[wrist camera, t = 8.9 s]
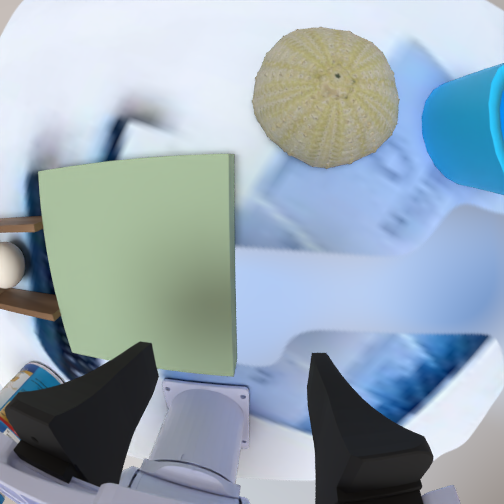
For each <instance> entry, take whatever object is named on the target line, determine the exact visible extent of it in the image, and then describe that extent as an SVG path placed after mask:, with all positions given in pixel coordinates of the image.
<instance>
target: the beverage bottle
mask: <svg viewBox="0 0 504 504" xmlns="http://www.w3.org/2000/svg"><path fill="white" fill-rule="evenodd" d="M60 384H63V382H62V381H61V379H60V378H59V377H58V376H57V375H56V374H54V373H53V372H52V371H51V370H49V369H48V368H46V367H45V366H43V365H41V364H38V363H28V364H26V365H25V366H24V367H23V368H22V369H21V370H20V372H19V373H18V374H17V375H16V376H15V377H14V378H13V379H12V380H11V381H10V382H9V383H8V384H7V385H6V386H5V387H4V388H3V389H2V390H1V391H0V432H2V433H3V434H5V435H7V436H8V437H10V438H12V439H13V440H14V441H15V442H16V443H17V444H18V443H19V442H20V440H21V439H20V438H19V436H18V435H17V433H16V432H15V430H14V429H13V427H12V426H11V424H10V423H9V421H8V419H7V417H6V414H5V407H6V406H7V405H8V404H9V402H10V401H11V400H12V399H13V398H14V397H15V396H16V395H17V393H18V392H26V391H34V390H40V389H45V388H49V387H53V386H57V385H60ZM4 498H5V495H4V494H3V493H1V492H0V504H2V503H3V501H4Z"/></svg>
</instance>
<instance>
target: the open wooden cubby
mask: <svg viewBox="0 0 504 504" xmlns="http://www.w3.org/2000/svg"><path fill="white" fill-rule="evenodd" d="M41 229H44V228H43V220H42V216H31V217H15V218H2V219H0V233H6V232H36V231H39V230H41ZM0 309H4V310H8V311H12V312H16V313H20V314H24V315H28V316H33V317H37V318H42V319H47V320H51V321H55V320H56V319H57V318H58V317H60V316H61V313H60V309H59V305H58V301H57V297H56V295H52V294H45V293H38V292H32V291H26V290H20V289H14V288H7V289H5V288H0Z"/></svg>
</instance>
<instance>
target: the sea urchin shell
mask: <svg viewBox="0 0 504 504" xmlns="http://www.w3.org/2000/svg"><path fill="white" fill-rule="evenodd" d="M255 80H256V82H255V87H254V95H253V100H252V103H253V108H254V114H255V116H256V118H257V120H258V122H259V123H260V124H261V127H262V128H263V129H264V131H265V133H266V135H267V137H269V138H270V140H271V141H273V142H275V143H276V144H277V145H278V146H279V147H280V148H282V149H283V151H284V152H287V153H288V155H289V156H293V157H295V158H297V159H299V160H301V161H303V162H305V163H306V164H308V165H310V166H312V167H320V168H326V169H327V168H330V167H335V166H339V165H345V164H352V162H354V161H356V160H358V159H360V158H362V157H364V156H367V155H369V154H371V153H374V152H376V150H377V149H378V148H379V147H380V146H381V145H382V144H383V143H384V142H385V141H386V140H387V139H388V138H389V137H390V136H391V135H392V133H393V131H394V129H395V127H396V125H397V120H398V105H399V100H400V99H398V92H397V89H396V85H395V78H394V72H393V71H392V70H391V67H390V65H389V64H388V62H387V59H386V57H385V56H384V54H383V52H382V51H380V50H379V49H378V48H377V47H376V46H375V45H374V44H373V42H370V41H368V40H366V39H364V38H361V37H359V36H357V35H355V34H353V33H352V32H350V31H343V30H335V29H329V28H323V27H319V28H308V29H297V30H296V31H293V32H291V33H289V34H288V35H285V36H283V38H281V39H280V40H279V41H278V42H277V43H276V44H275V46H274V47H273V48H272V49H271V50H270V51H269V52H267V53H266V56H265V57H264V61H263V64H262V66H261V68H260V71H259V72H257V76H256V77H255Z"/></svg>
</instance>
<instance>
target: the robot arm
mask: <svg viewBox="0 0 504 504" xmlns="http://www.w3.org/2000/svg"><path fill="white" fill-rule="evenodd" d="M158 377H159V376H158V371H157V367H156V362H155V357H154V352H153V347H152V343H149V342H141V341H140V342H138V343H136V344H135V345H133V346H132V347H130V348H129V349H127V350H126V351H124V352H123V353H121V354H120V355H118V356H116V357H115V358H113V359H112V360H110V361H109V362H107V363H105V364H104V365H102V366H100V367H98V368H97V369H95V370H93V371H91V372H89V373H87V374H85V375H83V376H81V377H79V378H76V379H74V380H71V381H68V382H66V383H63V384H60V385H57V386H53V387H49V388H45V389H40V390H34V391H26V392H18V393H17V395H16V396H15V397H14V398H13V399H12V400H11V401H10V402H9V404H8V405H7V406H6V407H5V414H6V417H7V419H8V421H9V423H10V424H11V426H12V427H13V429H14V430H15V432H16V433H17V435H18V436H19V438H20V439H21V440H20V442H19V443H18V444H17V443H16V442H15V441H14V440H13V439H12V438H10V437H8V436H7V435H5V434H3V433H2V432H0V492H1V493H3V494H4V495H5V496H7V497H8V498H10V499H11V500H13V501H14V502H16V503H17V504H250V502H249V500H248V499H247V498H245V497H240V496H239V494H240V485H237V484H235V483H236V476H237V469H238V462H239V455H240V449H248V448H249V389H248V388H246V387H241V386H227V385H215V384H205V383H195V382H187V381H179V380H171V379H164V380H163V382H162V386H163V390H164V395H165V399H166V403H167V407H168V413H167V415H166V417H165V420H164V422H163V425H162V427H161V430H160V432H159V435H158V437H157V440H156V442H155V445H154V447H153V450H152V452H151V455H150V457H149V460H148V459H144V461H143V463H142V466H141V468H140V469H139V468H137V467H134V466H131V467H129V468H128V469H125V470H123V471H122V469H123V465H124V462H125V458H126V455H127V451H128V448H129V445H130V442H131V439H132V436H133V434H134V431H135V429H136V427H137V425H138V423H139V421H140V419H141V417H142V415H143V413H144V411H145V409H146V407H147V405H148V403H149V401H150V399H151V397H152V395H153V392H154V389H155V386H156V383H157V380H158ZM167 387H169V388H167ZM242 395H245V396H242ZM307 398H308V410H309V416H310V423H311V429H312V435H313V441H314V448H315V469H316V499H315V500H316V501H315V504H461V503H460V500H459V498H458V495H457V492H456V489H455V487H454V485H450V486H447V487H444V488H441V489H437V490H434V491H431V492H428V493H426V494H424V495H423V496H421V493H420V489H421V488H422V484H421V480H420V479H421V478H422V476H423V475H424V474H425V473H426V471H427V470H428V469H429V467H430V465H431V464H432V462H433V454H432V452H431V449H430V447H429V445H428V443H427V441H426V439H425V437H424V436H422V435H419V434H417V433H415V432H412V431H410V430H408V429H406V428H404V427H402V426H400V425H398V424H396V423H394V422H393V421H391V420H390V419H388V418H386V417H385V416H384V415H382V414H381V413H379V412H378V411H377V410H375V409H374V408H373V407H371V406H370V405H369V404H368V403H367V402H366V401H365V400H364V399H362V398H361V397H360V396H359V395H358V393H357V392H356V391H355V390H354V389H353V388H352V387H351V386H350V385H349V383H348V382H347V381H346V380H345V379H344V377H343V376H342V375H341V373H340V372H339V371H338V369H337V368H336V367H335V365H334V364H333V362H332V361H331V359H330V358H329V356H328V355H327V354H326V353H312V356H311V363H310V371H309V378H308V384H307Z"/></svg>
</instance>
